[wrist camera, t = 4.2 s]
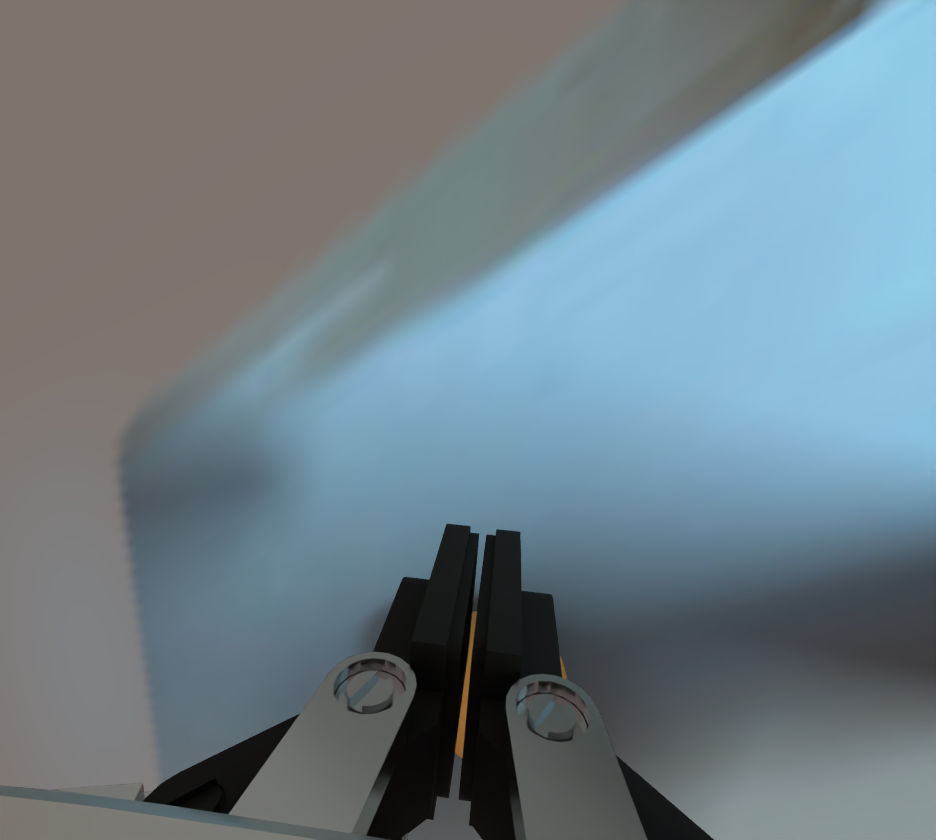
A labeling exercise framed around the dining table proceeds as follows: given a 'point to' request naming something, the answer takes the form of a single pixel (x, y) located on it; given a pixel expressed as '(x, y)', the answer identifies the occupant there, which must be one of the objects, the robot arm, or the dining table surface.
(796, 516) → the dining table surface
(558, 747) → the robot arm
